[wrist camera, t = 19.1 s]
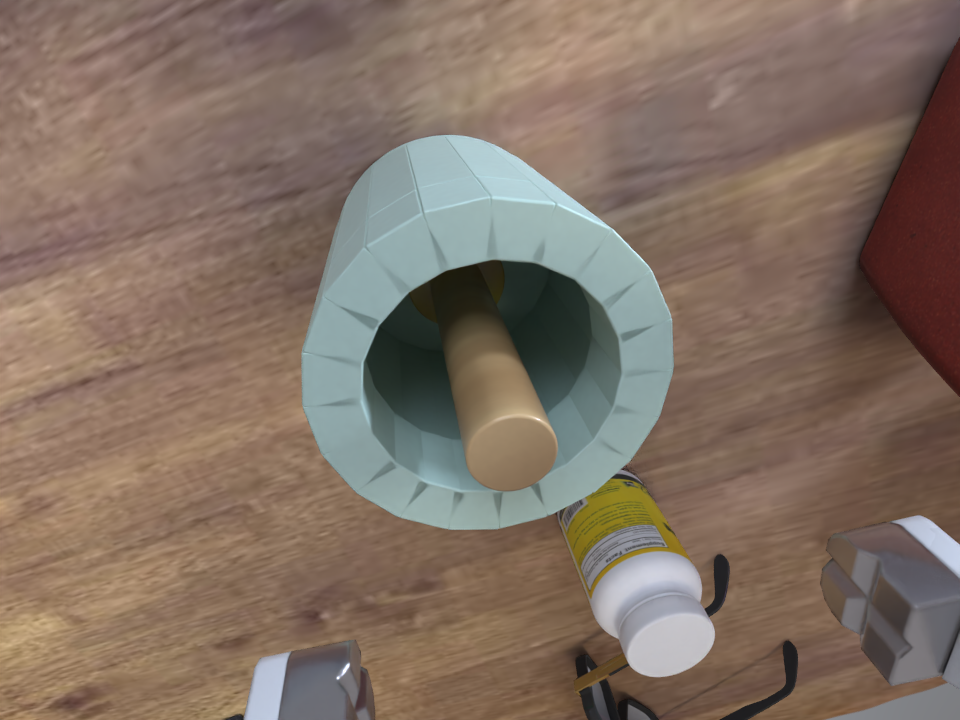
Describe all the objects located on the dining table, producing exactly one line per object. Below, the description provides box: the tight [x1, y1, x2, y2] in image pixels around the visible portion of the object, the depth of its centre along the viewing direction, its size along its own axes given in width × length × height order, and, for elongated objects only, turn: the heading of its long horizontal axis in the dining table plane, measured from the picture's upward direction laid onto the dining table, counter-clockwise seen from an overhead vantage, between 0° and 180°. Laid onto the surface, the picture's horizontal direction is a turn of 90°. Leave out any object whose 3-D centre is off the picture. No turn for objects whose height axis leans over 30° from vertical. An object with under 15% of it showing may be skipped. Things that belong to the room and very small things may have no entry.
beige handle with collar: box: [409, 260, 558, 491], centre depth 22 cm, size 4×4×16 cm
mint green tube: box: [302, 135, 674, 530], centre depth 24 cm, size 11×11×14 cm
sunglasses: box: [574, 554, 798, 720], centre depth 45 cm, size 14×15×5 cm
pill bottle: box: [557, 470, 715, 677], centre depth 34 cm, size 6×6×11 cm
